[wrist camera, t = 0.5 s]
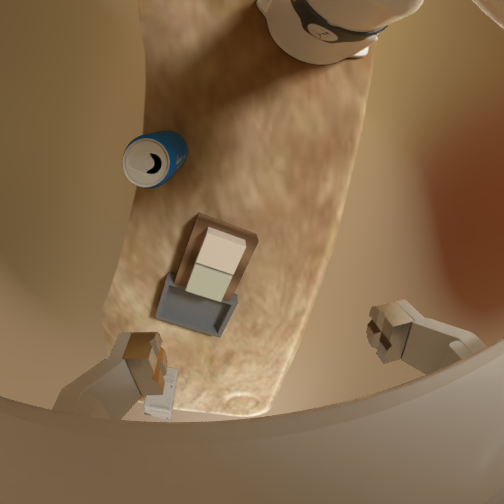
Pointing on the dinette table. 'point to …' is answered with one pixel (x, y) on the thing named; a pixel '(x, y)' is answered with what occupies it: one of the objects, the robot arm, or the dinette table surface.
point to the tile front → (221, 251)
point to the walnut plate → (195, 244)
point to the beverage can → (153, 158)
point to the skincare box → (162, 398)
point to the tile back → (208, 282)
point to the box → (193, 309)
